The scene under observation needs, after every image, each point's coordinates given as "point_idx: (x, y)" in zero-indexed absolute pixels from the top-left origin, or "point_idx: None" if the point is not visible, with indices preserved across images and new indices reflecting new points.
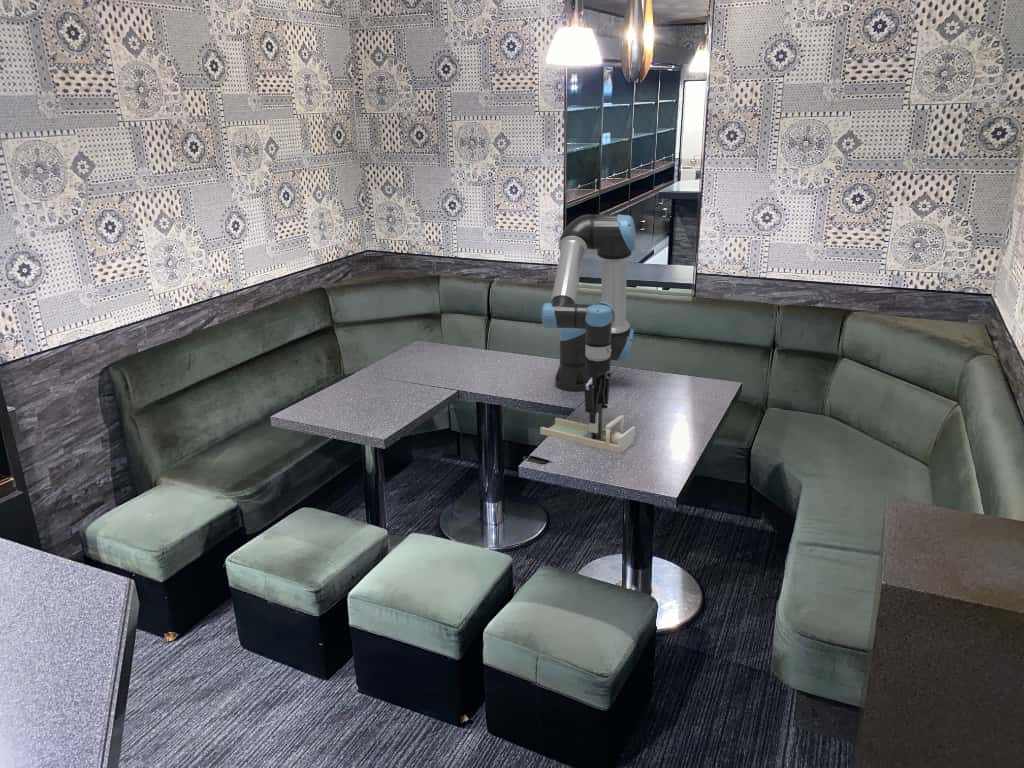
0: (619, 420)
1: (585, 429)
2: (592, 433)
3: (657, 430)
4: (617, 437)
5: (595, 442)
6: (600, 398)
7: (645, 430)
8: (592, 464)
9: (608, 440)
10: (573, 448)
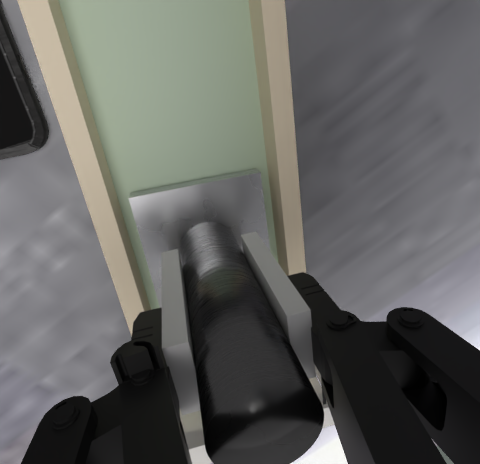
0: None
1: (264, 119)
2: (182, 254)
3: (463, 315)
4: None
5: (125, 312)
6: (354, 457)
7: (445, 286)
8: (4, 368)
9: None
10: (61, 187)
